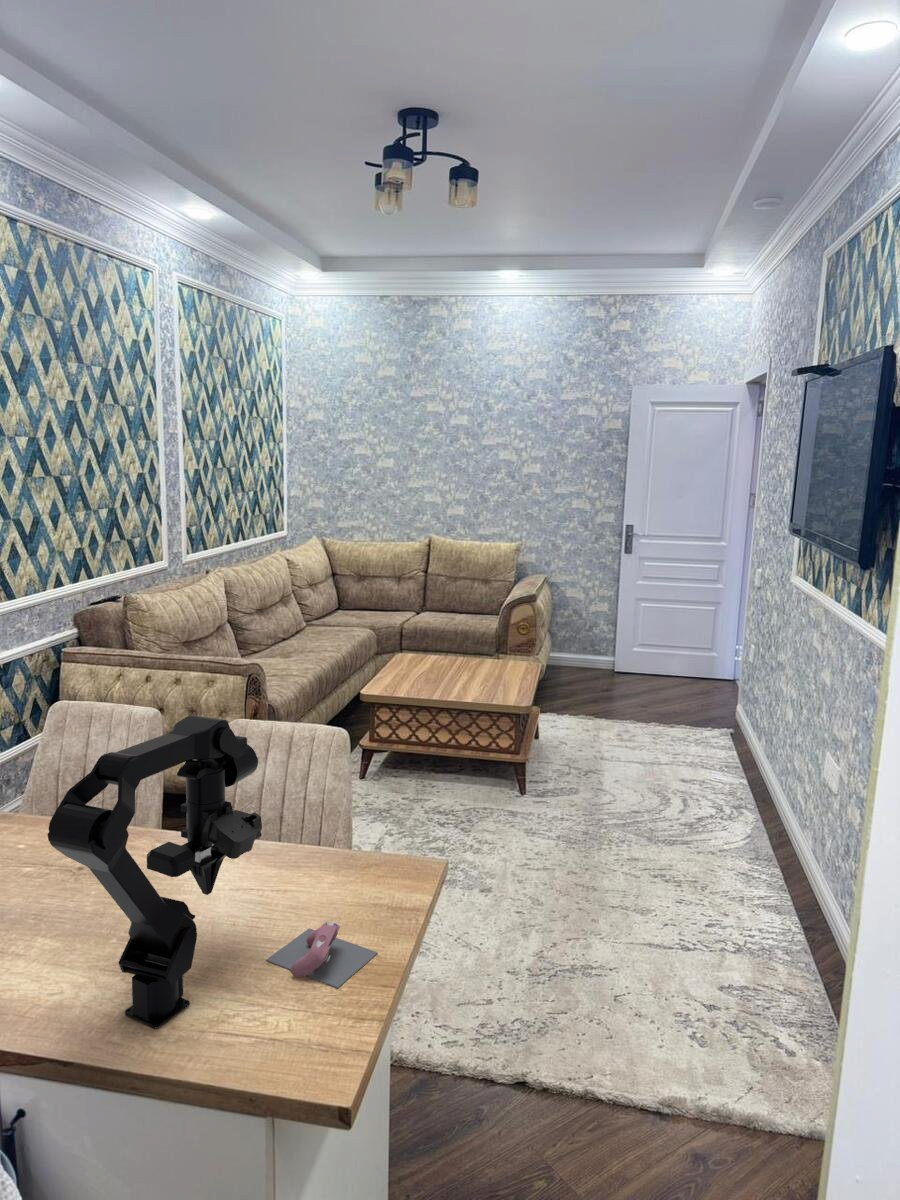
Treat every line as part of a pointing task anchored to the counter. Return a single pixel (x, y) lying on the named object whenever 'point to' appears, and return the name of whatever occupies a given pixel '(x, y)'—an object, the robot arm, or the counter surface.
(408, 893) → the counter surface
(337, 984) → the mat
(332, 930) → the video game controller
